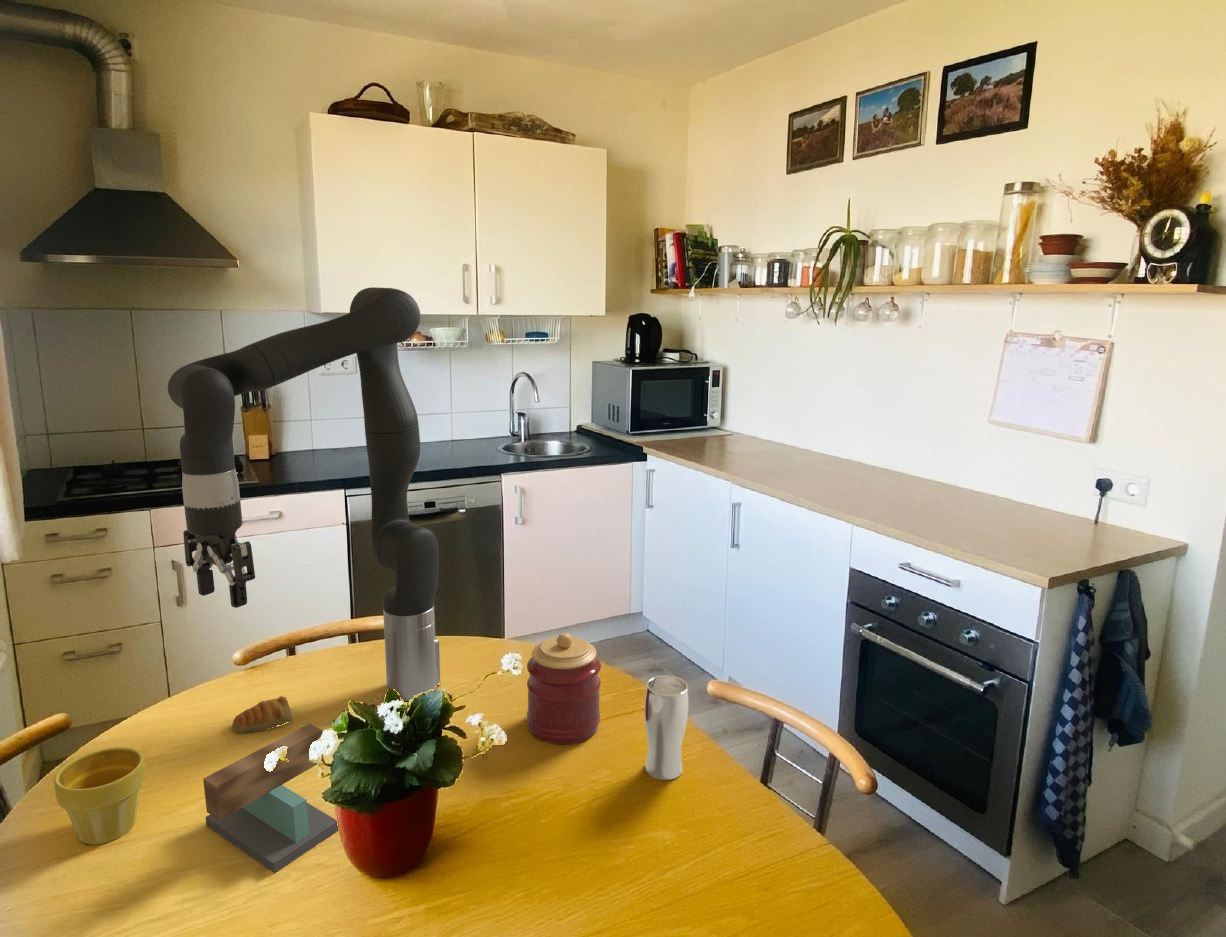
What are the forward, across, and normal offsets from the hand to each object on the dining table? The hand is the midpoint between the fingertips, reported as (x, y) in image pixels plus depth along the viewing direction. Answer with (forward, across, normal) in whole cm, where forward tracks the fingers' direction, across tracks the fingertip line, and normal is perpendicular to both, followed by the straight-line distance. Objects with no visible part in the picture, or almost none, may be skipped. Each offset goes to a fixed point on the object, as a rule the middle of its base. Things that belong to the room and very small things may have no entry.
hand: (222, 599), depth 118 cm
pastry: (+28, +5, -9) cm, 30 cm away
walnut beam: (+20, -20, +8) cm, 29 cm away
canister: (+28, -39, -37) cm, 60 cm away
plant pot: (+28, -1, +20) cm, 34 cm away
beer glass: (+28, -60, -35) cm, 75 cm away
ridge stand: (+27, -20, +8) cm, 35 cm away
